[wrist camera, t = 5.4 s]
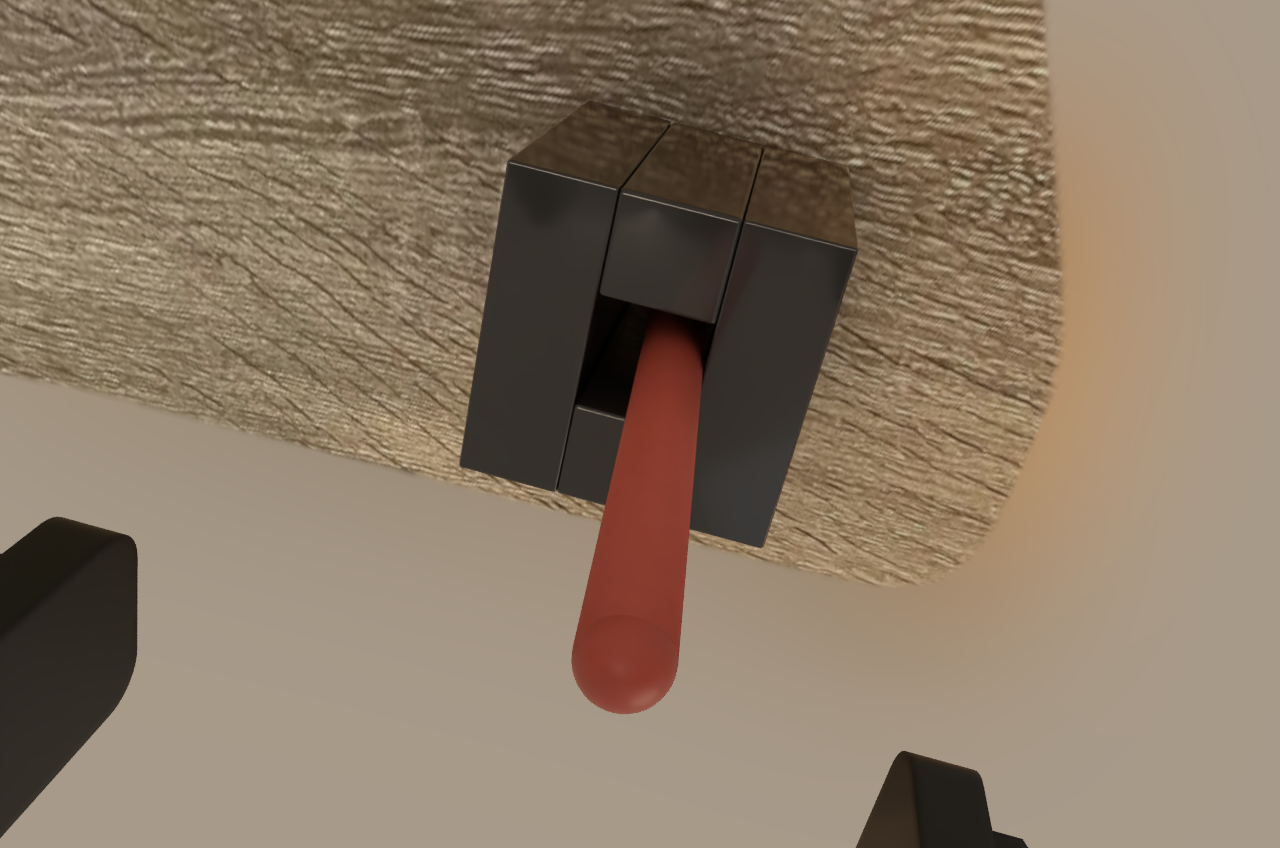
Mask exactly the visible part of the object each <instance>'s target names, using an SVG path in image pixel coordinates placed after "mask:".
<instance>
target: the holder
mask: <svg viewBox="0 0 1280 848" xmlns="http://www.w3.org/2000/svg"><path fill="white" fill-rule="evenodd" d="M857 252H858V248H857V238H856V228H855V218H854V208H853V198H852V188H851V178H850V168H849V166H846V165H842V164H838V163H834V162H830V161H826V160H822V159H818V158H814V157H810V156H806V155H802V154H798V153H794V152H790V151H786V150H782V149H778V148H774V147H770V146H765V147H764V149H763V146H762V145H761V144H757V143H753V142H749V141H745V140H741V139H737V138H733V137H729V136H725V135H721V134H717V133H713V132H709V131H706V130H702V129H698V128H694V127H690V126H686V125H682V124H678V123H672V124H671V122H670V121H667V120H663V119H659V118H655V117H651V116H647V115H643V114H640V113H636V112H632V111H628V110H624V109H620V108H616V107H612V106H608V105H604V104H600V103H596V102H592V101H588V102H586V103H585V104H584V105H582V106H581V107H580V108H578V109H577V110H576V111H574V112H573V113H572V114H570V115H569V116H567V117H566V118H565V119H563V120H562V121H561V122H559V123H558V124H557V125H555V126H554V127H552V128H551V129H550V130H548V131H547V132H546V133H544V134H543V135H542V136H540V137H539V138H538V139H536V140H535V141H533V142H532V143H531V144H529V145H528V146H527V147H525V148H524V149H523V150H521V151H520V152H519V153H517V154H516V155H514V156H513V157H512V158H510V159H509V160H508V162H507V168H506V174H505V180H504V187H503V193H502V199H501V206H500V212H499V218H498V224H497V231H496V237H495V243H494V249H493V256H492V262H491V268H490V275H489V281H488V287H487V293H486V300H485V306H484V312H483V319H482V325H481V331H480V337H479V344H478V350H477V356H476V362H475V369H474V375H473V381H472V388H471V394H470V400H469V406H468V413H467V419H466V425H465V432H464V438H463V444H462V450H461V457H460V463H459V464H460V466H461V467H463V468H467V469H471V470H474V471H478V472H482V473H485V474H489V475H493V476H497V477H500V478H504V479H508V480H511V481H515V482H519V483H522V484H526V485H530V486H533V487H537V488H541V489H545V490H548V491H552V492H555V491H556V490H557V491H558V492H559V493H561V494H565V495H568V496H572V497H576V498H579V499H583V500H587V501H590V502H594V503H598V504H601V505H606V501H607V496H608V492H609V488H610V483H611V479H612V475H613V470H614V466H615V462H616V457H617V453H618V448H619V444H620V440H621V435H622V431H623V427H624V422H625V418H626V414H627V409H628V405H629V400H630V396H631V392H632V387H633V383H634V379H635V374H636V370H637V366H638V361H639V357H640V352H641V348H642V344H643V339H644V335H645V331H646V326H647V322H648V318H649V313H650V309H651V308H652V309H656V310H659V311H663V312H667V313H671V314H675V315H679V316H682V317H686V318H690V319H694V320H698V321H702V322H705V323H707V326H706V338H705V350H704V362H703V374H702V385H701V397H700V409H699V421H698V433H697V445H696V457H695V468H694V480H693V492H692V504H691V516H690V528H689V529H692V530H695V531H699V532H703V533H706V534H710V535H714V536H718V537H721V538H725V539H729V540H732V541H736V542H740V543H743V544H747V545H751V546H754V547H758V548H763V547H764V544H765V541H766V538H767V535H768V531H769V528H770V525H771V522H772V519H773V516H774V513H775V510H776V506H777V503H778V500H779V497H780V494H781V491H782V488H783V484H784V481H785V478H786V475H787V472H788V469H789V466H790V462H791V459H792V456H793V453H794V450H795V447H796V444H797V441H798V437H799V434H800V431H801V428H802V425H803V422H804V419H805V415H806V412H807V409H808V406H809V403H810V400H811V397H812V393H813V390H814V387H815V384H816V381H817V378H818V375H819V372H820V368H821V365H822V362H823V359H824V356H825V353H826V350H827V346H828V343H829V340H830V337H831V334H832V331H833V328H834V324H835V321H836V318H837V315H838V312H839V309H840V306H841V303H842V299H843V296H844V293H845V290H846V287H847V284H848V281H849V277H850V274H851V271H852V268H853V265H854V262H855V259H856V255H857Z"/></svg>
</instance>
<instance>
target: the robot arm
mask: <svg viewBox="0 0 1280 848" xmlns="http://www.w3.org/2000/svg"><path fill="white" fill-rule="evenodd" d="M137 558H138V557H137V548H136V544H135V542H134V540H133V539H132V538H131V537H129V536H128V535H125V534H121V533H117V532H113V531H110V530H106V529H103V528H99V527H95V526H92V525H88V524H85V523H81V522H77V521H74V520H70V519H66V518H63V517H53V518H51V519H48V520H46V521H44V522H43V523H41V524H40V525H39V526H38V527H36V528H35V529H33V530H32V531H31V532H30V533H29V534H27V535H26V536H25V537H23V538H22V539H21V540H19V541H18V542H17V543H15V544H14V545H13V546H12V547H10V548H9V549H8V550H6V551H5V552H4V553H3V554H0V838H1V837H2V836H3V834H4V833H5V832H6V831H7V830H8V829H9V828H10V827H11V826H12V824H13V823H14V822H15V821H16V820H17V819H18V818H19V817H20V815H21V814H22V813H23V812H24V811H25V810H26V809H27V808H28V806H29V805H30V804H31V803H32V802H33V801H34V800H35V799H36V797H37V796H38V795H39V794H40V793H41V792H42V791H43V790H44V789H45V787H46V786H47V785H48V784H49V783H50V782H51V781H52V780H53V778H54V777H55V776H56V775H57V774H58V773H59V772H60V771H61V769H62V768H63V767H64V766H65V765H66V764H67V763H68V762H69V761H70V759H71V758H72V757H73V756H74V755H75V754H76V753H77V751H78V750H79V749H80V748H81V747H82V746H83V745H84V744H85V743H86V741H87V740H88V739H89V738H90V737H91V736H92V735H93V734H94V732H95V731H96V730H97V729H98V728H99V727H100V726H101V725H102V723H103V722H104V721H105V720H106V719H107V718H108V717H109V716H110V714H111V713H112V712H113V711H114V709H115V708H116V707H117V705H118V704H119V702H120V700H121V699H122V697H123V695H124V693H125V691H126V689H127V687H128V685H129V682H130V679H131V677H132V674H133V671H134V667H135V663H136V657H137V566H138V559H137ZM856 848H1028V847H1027V845H1026V844H1025V842H1024V841H1023V839H1020V838H1017V837H1013V836H1009V835H1006V834H1002V833H998V832H995V831H992V827H991V822H990V817H989V812H988V806H987V801H986V796H985V791H984V786H983V782H982V779H981V777H980V774H979V773H978V772H977V771H975V770H972V769H968V768H965V767H961V766H958V765H954V764H950V763H946V762H943V761H939V760H936V759H932V758H929V757H924V756H921V755H917V754H914V753H910V752H906V751H902V752H900V753H899V754H898V755H897V757H896V758H895V760H894V762H893V764H892V766H891V768H890V770H889V773H888V775H887V777H886V779H885V782H884V784H883V786H882V789H881V791H880V793H879V796H878V798H877V800H876V803H875V805H874V807H873V809H872V812H871V814H870V816H869V818H868V821H867V823H866V825H865V828H864V830H863V832H862V835H861V837H860V839H859V842H858V844H857V846H856Z"/></svg>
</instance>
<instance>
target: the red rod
mask: <svg viewBox="0 0 1280 848" xmlns="http://www.w3.org/2000/svg"><path fill="white" fill-rule="evenodd" d="M706 326H707V323H705V322H702V321H698V320H694V319H690V318H686V317H682V316H679V315H675V314H671V313H667V312H663V311H659V310H656V309H652V308H651V309H650V313H649V318H648V322H647V326H646V331H645V335H644V339H643V344H642V348H641V352H640V357H639V361H638V366H637V370H636V374H635V379H634V383H633V387H632V392H631V396H630V400H629V405H628V409H627V414H626V418H625V422H624V427H623V431H622V435H621V440H620V444H619V448H618V453H617V457H616V462H615V466H614V470H613V475H612V479H611V483H610V488H609V492H608V496H607V501H606V505H605V509H604V514H603V518H602V523H601V527H600V531H599V536H598V540H597V544H596V549H595V553H594V557H593V562H592V566H591V571H590V575H589V579H588V584H587V588H586V592H585V597H584V601H583V605H582V610H581V614H580V619H579V623H578V627H577V632H576V636H575V640H574V645H573V650H572V669H573V673H574V677H575V680H576V682H577V685H578V686H579V688H580V689H581V691H582V692H583V694H584V695H585V696H586V697H587V699H588V700H590V702H592V703H593V704H595V705H596V706H598V707H600V708H602V709H604V710H606V711H609V712H612V713H617V714H631V713H637V712H641V711H644V710H646V709H648V708H650V707H652V706H653V705H655V704H656V703H657V702H658V701H660V700H661V699H662V698H663V697H664V696H665V694H666V693H667V692H668V691H669V689H670V687H671V686H672V684H673V681H674V679H675V676H676V672H677V667H678V658H679V646H680V634H681V623H682V611H683V599H684V587H685V575H686V562H687V551H688V540H689V528H690V516H691V504H692V492H693V480H694V468H695V457H696V445H697V433H698V421H699V409H700V397H701V385H702V374H703V362H704V350H705V338H706Z"/></svg>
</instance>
